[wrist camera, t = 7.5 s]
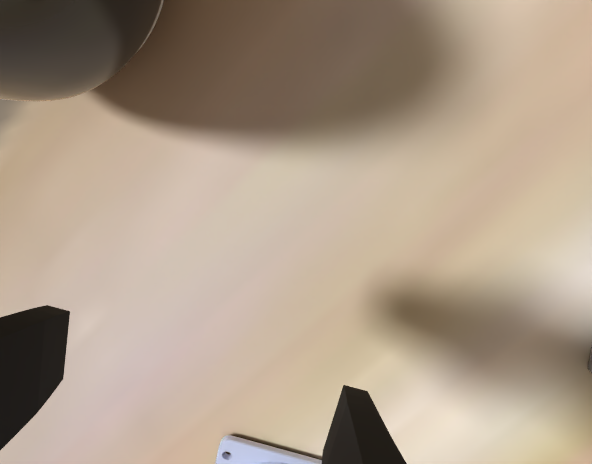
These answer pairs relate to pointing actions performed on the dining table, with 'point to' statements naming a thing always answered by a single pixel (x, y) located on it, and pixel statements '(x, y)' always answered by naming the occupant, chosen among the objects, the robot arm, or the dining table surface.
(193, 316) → the dining table surface
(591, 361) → the slate base
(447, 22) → the dining table surface
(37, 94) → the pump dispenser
